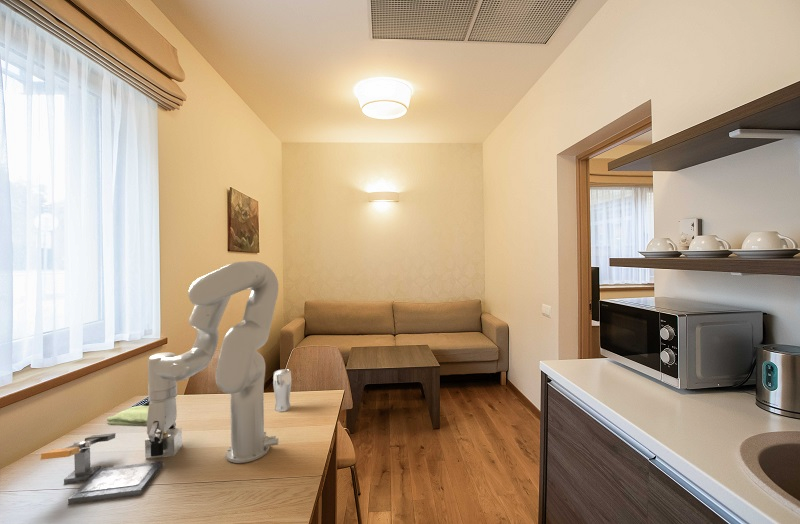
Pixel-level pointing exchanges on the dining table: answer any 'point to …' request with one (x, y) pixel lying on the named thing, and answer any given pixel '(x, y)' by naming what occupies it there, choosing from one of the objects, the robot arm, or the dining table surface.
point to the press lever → (76, 446)
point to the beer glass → (282, 389)
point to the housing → (166, 443)
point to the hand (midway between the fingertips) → (163, 447)
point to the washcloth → (130, 416)
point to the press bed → (109, 479)
